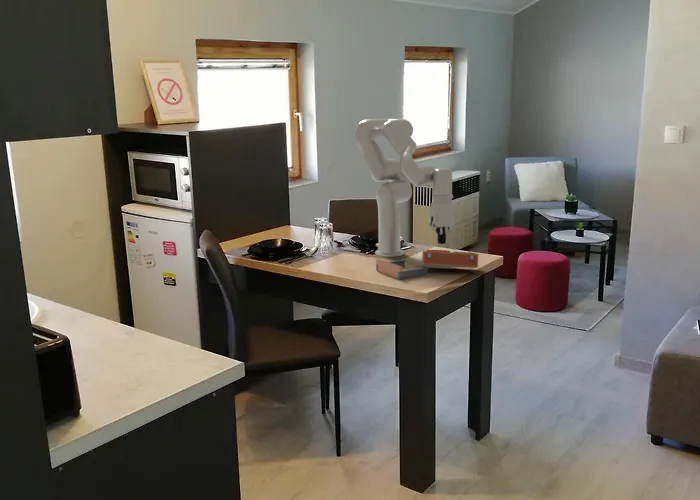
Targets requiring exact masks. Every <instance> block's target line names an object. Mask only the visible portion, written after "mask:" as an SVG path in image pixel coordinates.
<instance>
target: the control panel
mask: <svg viewBox="0 0 700 500" xmlns="http://www.w3.org/2000/svg"><path fill="white" fill-rule="evenodd" d="M421 254H422V255H421V256H422V259H421V265H422V266H424V267H427V268H435V269H447V270H448V269H451V268H452V267H453V268H470V269H471V268H472V269H476V268H477V269H478V268H479V253H475V252H470V251H469V252H466V251H461V252H460V251H452V252H451V251H450V250H442V249H426V250H423V251H422V253H421Z"/></svg>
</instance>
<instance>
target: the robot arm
mask: <svg viewBox="0 0 700 500" xmlns="http://www.w3.org/2000/svg"><path fill="white" fill-rule="evenodd" d="M354 130H355V131H354V138H355V139H354V140H355V144H356V145H357V147H358V149H359V151H360V153H361V154H362V157H363V160H364V162H365V164H366V166H367V170H368V171H369V174H370V177H371V178H372V180H373V181H374V182H378V183H380V182H382V184H380V185H379V186H378V187H377V189H376V191H375V197H376V198H375V199H376V203H377V213H378V215H377V216H378V242H377V243H375V247H377V250H375V251H374V253H375V255H376V256H378V257H382V258H384V257H385V258H395V257H401V256H403V255H404V253H405V252H404V250H403V249H401V212H400V209H399V207H398V204H401V203H405V202H406V203H407V201H409V200H410V199H411V198H412V194H413V191H412V185H413V186H415V187H423V186H430V185H432V202H431V203H430V208H429V211H428V213H429V214H428V226H429V227H430V231H434V232H435V233H436V234H437V244H440V245H445V244H447V241H446V240H447V234H448V232H449V230H452V229H453V228H454V224H455V207H454V202H453V200H452V199H453V198H454V195H453V170H452V168H449V167H438V166H435V165H434V166H432V165H431V166H422V167H419V165H418V164H417V163H416V161H415V160H414V158H413V154H414V153H415V151H416V150H417V143H416V141H415V140H414V138H412V136H413V133H414V126H413V125H412V123H411V122H410V121H409V120H408V119H402V118H401V119H400V118H398V119H397V118H368V119H363V120H362V121H360V122H359V123H358V124H357V125H356V128H355V129H354ZM375 139H386V140H387V142H389V144H390V145H391V147H392V148H393V149H394V151H395V152H396V153H397V154H398V156H399V160H398V159H396V158H386V157H385V155H384V152H383V150H382V148H381V147H380V145H379V144H378V143H377V142H376V141H375ZM411 184H412V185H411Z"/></svg>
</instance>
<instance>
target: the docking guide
mask: <svg viewBox="0 0 700 500" xmlns="http://www.w3.org/2000/svg"><path fill="white" fill-rule="evenodd" d="M375 264H376V265H375V267H376V268H375V270H376V272H378V273H381V274H383V275H385V276H387V277H391V278H394V279H396V280H399V281H402V280H405V279H406V280H407V279H412V278H417V277H423V276H427V275H428V267H425V266H423V267H416V268H411V269H406V270H403V267H405V266H406V260H405V259H399V260H391V261H386V260H384V259H380V258H376V259H375Z"/></svg>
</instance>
